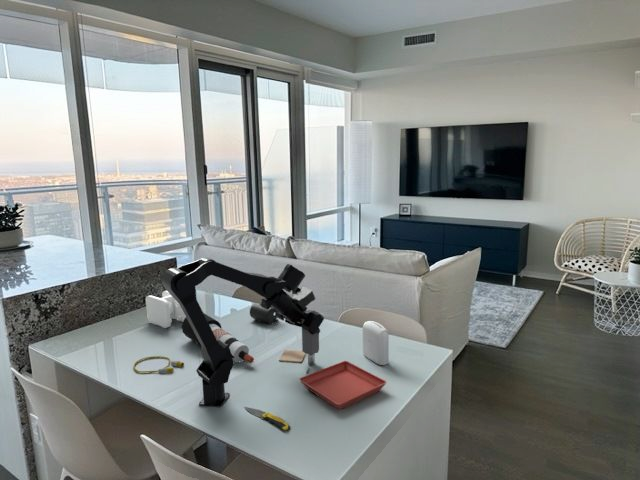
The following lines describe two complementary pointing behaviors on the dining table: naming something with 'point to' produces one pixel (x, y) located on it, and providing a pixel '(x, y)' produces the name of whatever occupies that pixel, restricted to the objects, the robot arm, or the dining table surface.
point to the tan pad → (292, 356)
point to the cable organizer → (163, 310)
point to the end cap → (263, 314)
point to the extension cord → (163, 370)
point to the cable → (235, 346)
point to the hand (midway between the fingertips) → (313, 329)
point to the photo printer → (376, 342)
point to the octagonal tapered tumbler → (310, 340)
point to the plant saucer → (342, 384)
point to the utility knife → (270, 418)
